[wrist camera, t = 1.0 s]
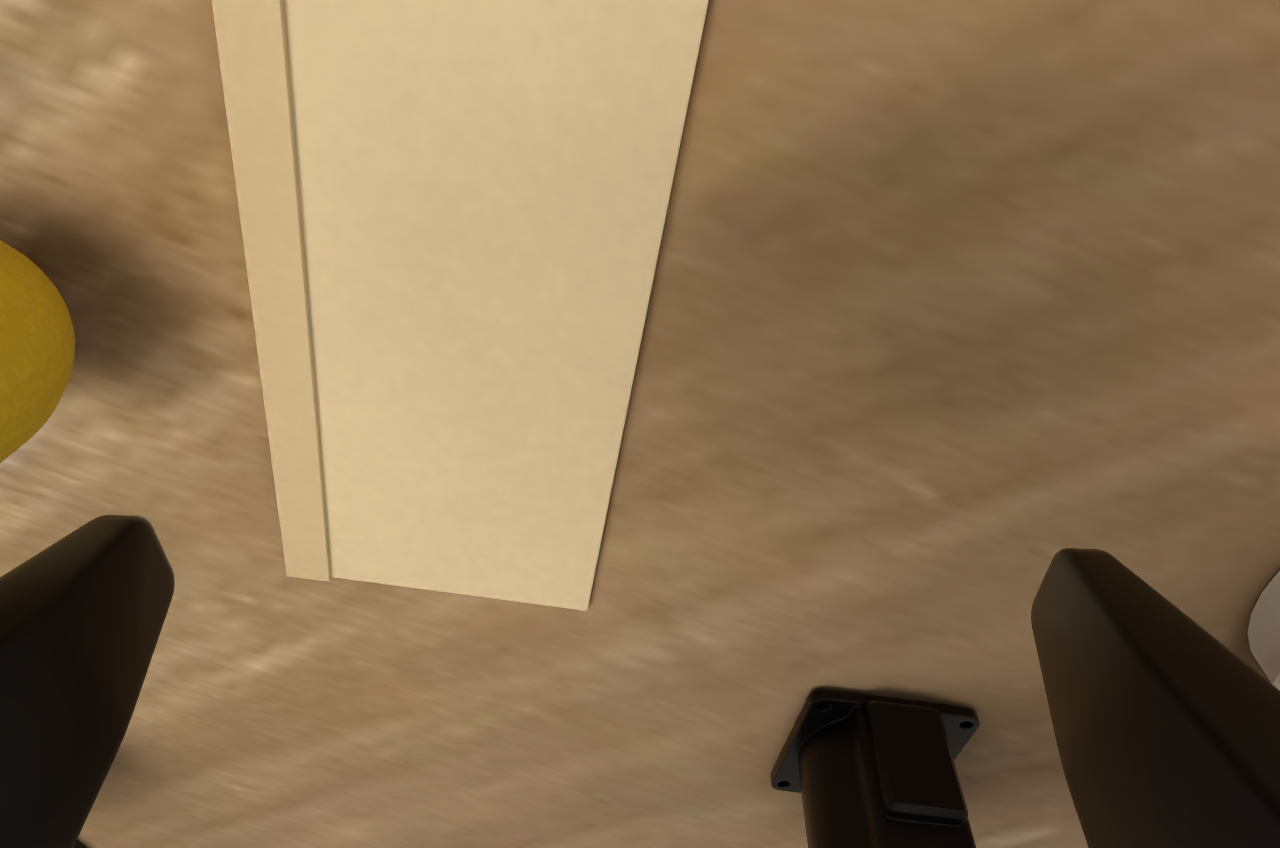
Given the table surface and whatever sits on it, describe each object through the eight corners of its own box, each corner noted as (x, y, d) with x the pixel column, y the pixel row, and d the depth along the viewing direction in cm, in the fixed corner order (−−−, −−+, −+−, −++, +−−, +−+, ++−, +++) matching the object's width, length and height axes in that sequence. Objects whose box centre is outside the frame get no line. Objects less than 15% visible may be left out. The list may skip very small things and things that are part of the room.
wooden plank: (587, 604, 29) (586, 616, 29) (291, 564, 29) (286, 576, 28) (739, -157, 16) (740, -155, 16) (188, -270, 15) (175, -271, 15)
